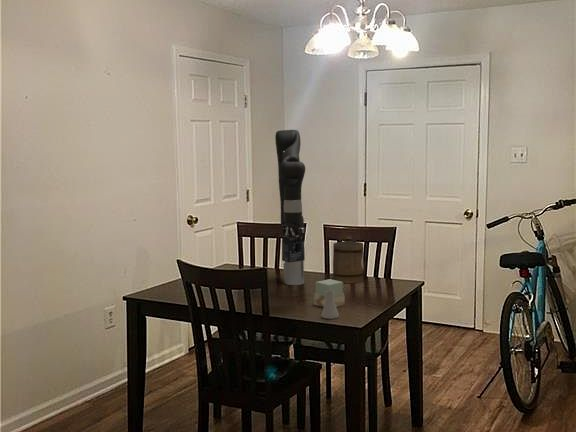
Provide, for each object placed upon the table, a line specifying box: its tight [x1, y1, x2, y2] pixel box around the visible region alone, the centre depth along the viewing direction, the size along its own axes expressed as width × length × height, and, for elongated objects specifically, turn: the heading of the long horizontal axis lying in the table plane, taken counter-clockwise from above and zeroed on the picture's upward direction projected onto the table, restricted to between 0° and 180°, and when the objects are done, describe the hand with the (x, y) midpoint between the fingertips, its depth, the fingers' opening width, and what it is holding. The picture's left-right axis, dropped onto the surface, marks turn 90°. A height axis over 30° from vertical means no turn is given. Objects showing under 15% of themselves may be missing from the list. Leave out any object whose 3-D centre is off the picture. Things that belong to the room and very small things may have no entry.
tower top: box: [315, 278, 344, 296], centre depth 271 cm, size 8×8×5 cm
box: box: [281, 235, 306, 263], centre depth 268 cm, size 8×6×11 cm
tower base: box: [313, 292, 346, 308], centre depth 272 cm, size 9×9×5 cm
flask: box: [320, 291, 340, 320], centre depth 253 cm, size 7×7×10 cm
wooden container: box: [332, 235, 365, 284], centre depth 316 cm, size 15×15×22 cm
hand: (293, 251), depth 268 cm, fingers closed on box, 5 cm apart
